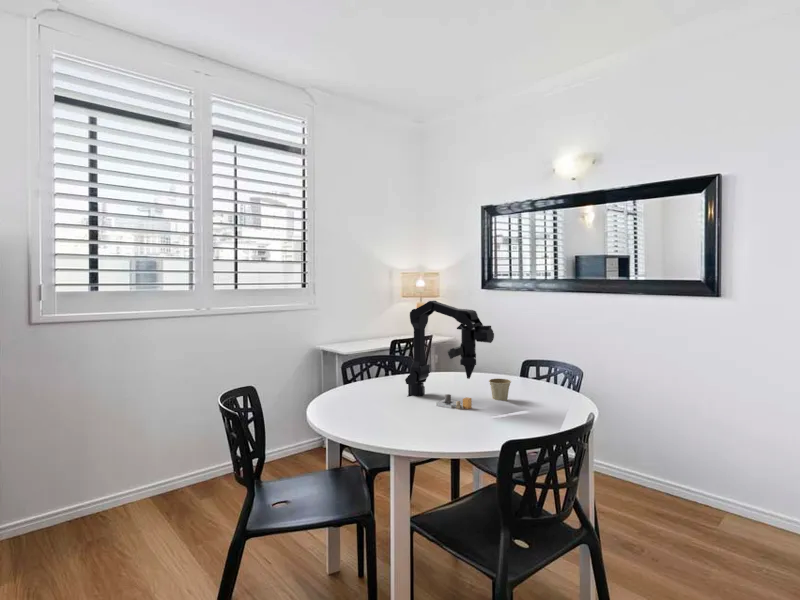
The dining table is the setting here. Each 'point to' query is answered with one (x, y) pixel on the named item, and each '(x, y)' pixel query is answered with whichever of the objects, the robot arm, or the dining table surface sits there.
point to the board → (448, 400)
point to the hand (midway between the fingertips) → (468, 378)
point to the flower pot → (500, 388)
